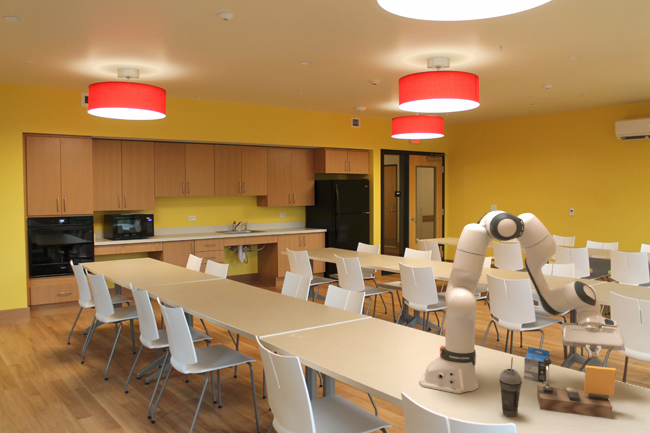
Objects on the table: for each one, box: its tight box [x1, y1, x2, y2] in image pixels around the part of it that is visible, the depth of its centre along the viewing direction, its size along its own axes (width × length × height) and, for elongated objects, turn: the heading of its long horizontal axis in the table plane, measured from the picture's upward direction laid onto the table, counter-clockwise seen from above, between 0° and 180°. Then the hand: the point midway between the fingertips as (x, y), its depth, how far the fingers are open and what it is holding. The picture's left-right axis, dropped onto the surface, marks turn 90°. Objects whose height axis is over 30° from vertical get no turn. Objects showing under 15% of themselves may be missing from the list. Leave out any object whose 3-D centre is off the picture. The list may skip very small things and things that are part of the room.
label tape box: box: [523, 346, 551, 384], centre depth 199 cm, size 9×4×12 cm, turn 46°
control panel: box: [536, 385, 613, 419], centre depth 173 cm, size 22×12×5 cm, turn 71°
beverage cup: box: [498, 356, 523, 419], centre depth 166 cm, size 7×7×20 cm
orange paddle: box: [583, 365, 617, 400], centre depth 169 cm, size 9×2×11 cm, turn 71°
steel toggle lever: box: [542, 358, 553, 392], centre depth 177 cm, size 3×3×12 cm
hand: (594, 357), depth 178 cm, fingers closed
